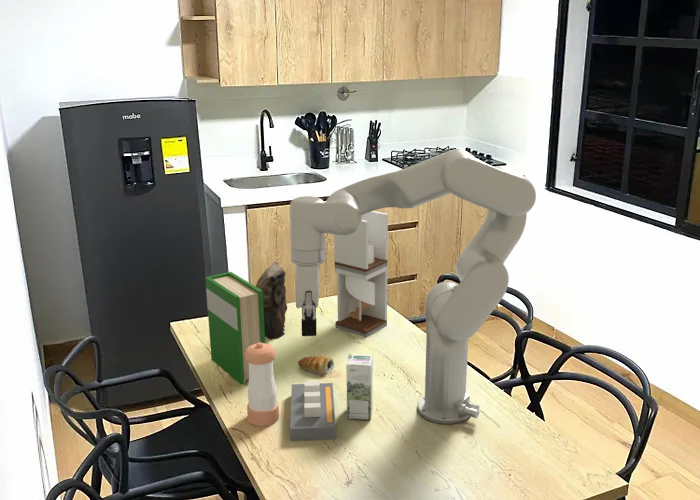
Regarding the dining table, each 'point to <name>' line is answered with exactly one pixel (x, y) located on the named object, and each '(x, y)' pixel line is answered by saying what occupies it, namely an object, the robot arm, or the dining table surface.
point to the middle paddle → (312, 397)
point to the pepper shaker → (261, 385)
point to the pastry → (316, 364)
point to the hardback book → (234, 322)
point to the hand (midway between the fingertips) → (309, 326)
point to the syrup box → (359, 386)
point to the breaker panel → (312, 425)
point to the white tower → (362, 276)
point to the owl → (273, 300)
